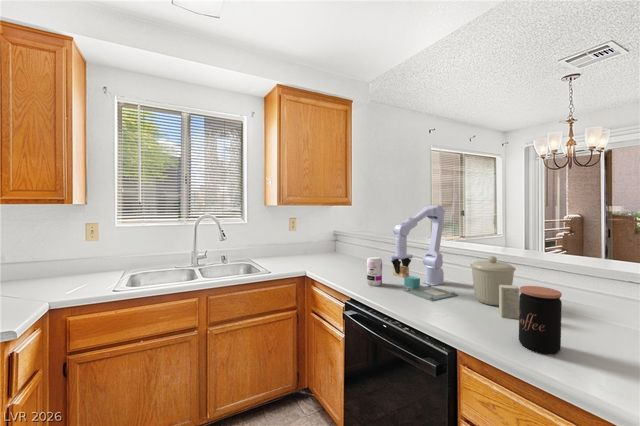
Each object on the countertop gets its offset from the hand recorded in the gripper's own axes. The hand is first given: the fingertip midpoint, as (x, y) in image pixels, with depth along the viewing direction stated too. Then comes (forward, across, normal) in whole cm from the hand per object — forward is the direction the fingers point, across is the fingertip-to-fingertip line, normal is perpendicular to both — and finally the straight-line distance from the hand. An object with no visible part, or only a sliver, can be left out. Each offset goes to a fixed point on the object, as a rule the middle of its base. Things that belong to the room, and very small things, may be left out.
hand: (401, 272), depth 161 cm
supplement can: (+9, +7, -13) cm, 17 cm away
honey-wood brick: (+2, 0, 0) cm, 2 cm away
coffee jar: (+9, +8, +71) cm, 72 cm away
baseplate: (+8, -7, +14) cm, 17 cm away
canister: (+9, -21, +37) cm, 43 cm away
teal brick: (+8, -8, 0) cm, 12 cm away
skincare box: (+9, -10, +51) cm, 52 cm away
